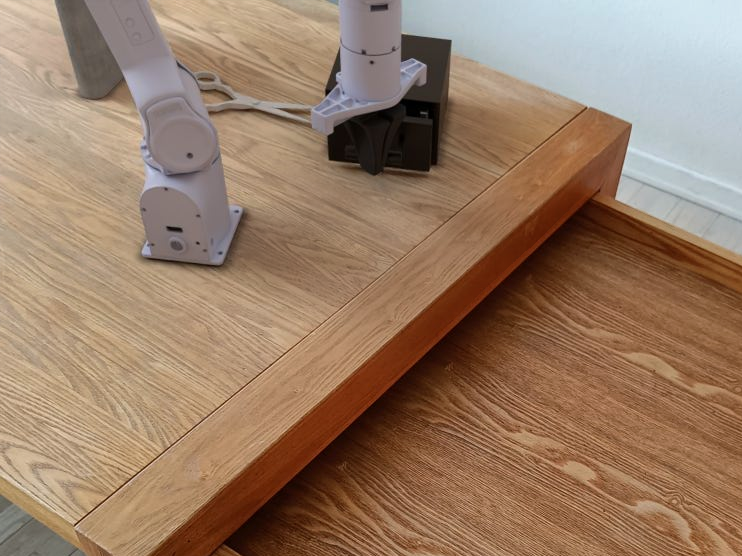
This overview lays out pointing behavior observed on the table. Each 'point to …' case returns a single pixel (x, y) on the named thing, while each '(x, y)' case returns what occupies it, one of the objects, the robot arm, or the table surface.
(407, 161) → the drawer
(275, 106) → the scissors
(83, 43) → the hip flask
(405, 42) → the cabinet
